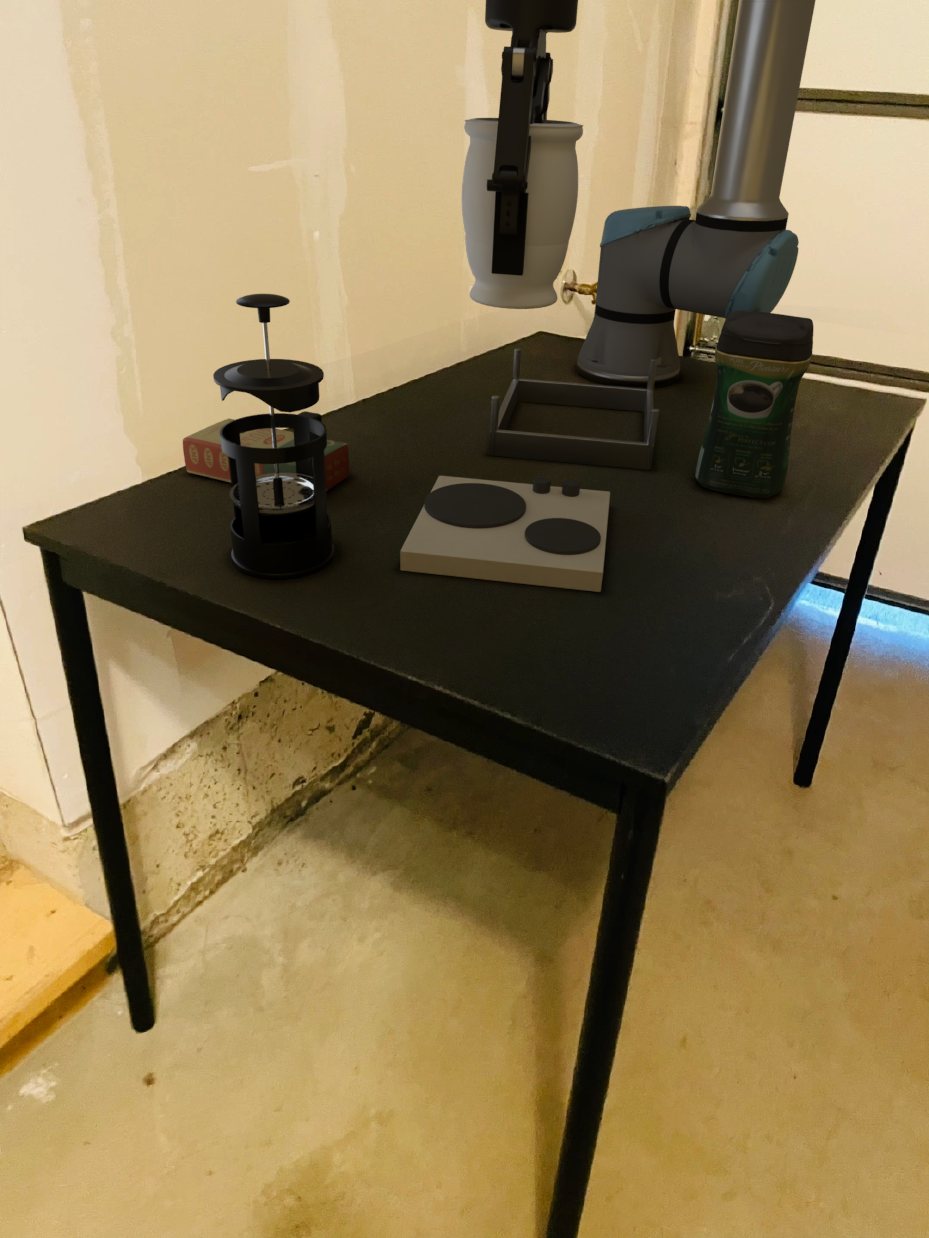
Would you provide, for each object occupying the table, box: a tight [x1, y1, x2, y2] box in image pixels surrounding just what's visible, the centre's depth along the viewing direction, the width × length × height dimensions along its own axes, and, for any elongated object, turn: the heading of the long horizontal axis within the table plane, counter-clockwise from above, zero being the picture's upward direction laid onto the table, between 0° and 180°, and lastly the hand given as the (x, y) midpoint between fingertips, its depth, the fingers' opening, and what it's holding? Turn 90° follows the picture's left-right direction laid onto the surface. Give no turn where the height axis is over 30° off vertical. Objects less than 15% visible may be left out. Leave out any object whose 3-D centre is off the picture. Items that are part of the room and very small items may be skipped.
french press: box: [212, 293, 336, 580], centre depth 78 cm, size 12×9×23 cm
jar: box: [461, 117, 584, 310], centre depth 82 cm, size 11×10×15 cm
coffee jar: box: [694, 310, 814, 499], centre depth 97 cm, size 10×8×19 cm
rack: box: [488, 347, 660, 471], centre depth 113 cm, size 22×19×7 cm
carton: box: [182, 418, 350, 492], centre depth 99 cm, size 8×16×4 cm, turn 65°
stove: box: [399, 475, 611, 593], centre depth 88 cm, size 18×18×3 cm
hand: (515, 263), depth 84 cm, fingers closed on jar, 11 cm apart
